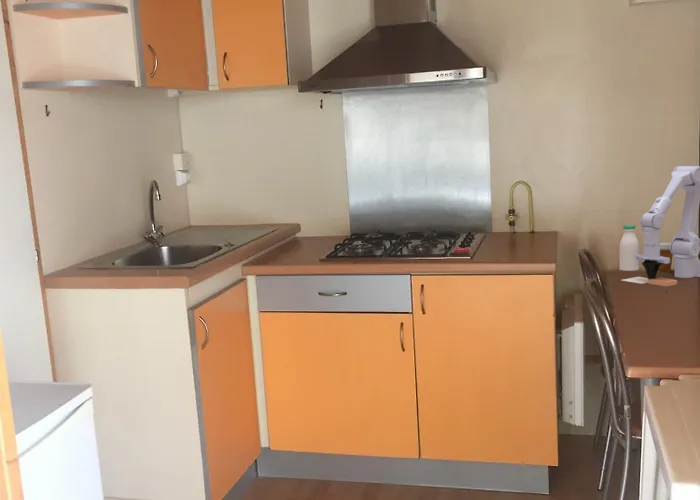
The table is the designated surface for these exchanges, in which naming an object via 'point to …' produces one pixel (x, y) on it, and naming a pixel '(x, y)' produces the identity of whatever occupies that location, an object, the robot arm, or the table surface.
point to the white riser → (637, 280)
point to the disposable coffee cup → (665, 253)
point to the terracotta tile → (662, 281)
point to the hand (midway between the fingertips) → (651, 280)
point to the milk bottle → (628, 249)
